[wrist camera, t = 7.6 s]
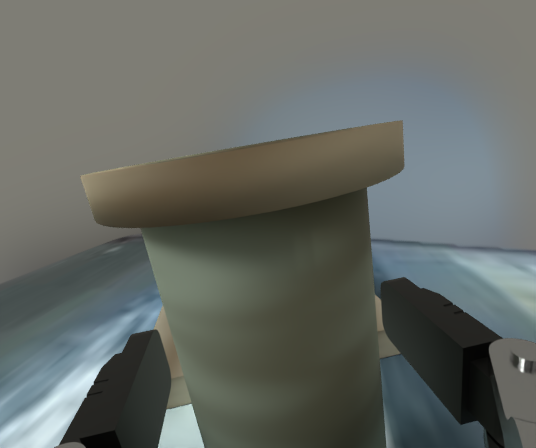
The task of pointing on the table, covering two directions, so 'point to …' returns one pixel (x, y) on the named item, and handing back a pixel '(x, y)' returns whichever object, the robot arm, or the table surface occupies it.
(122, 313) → the table surface
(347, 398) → the bobbin
